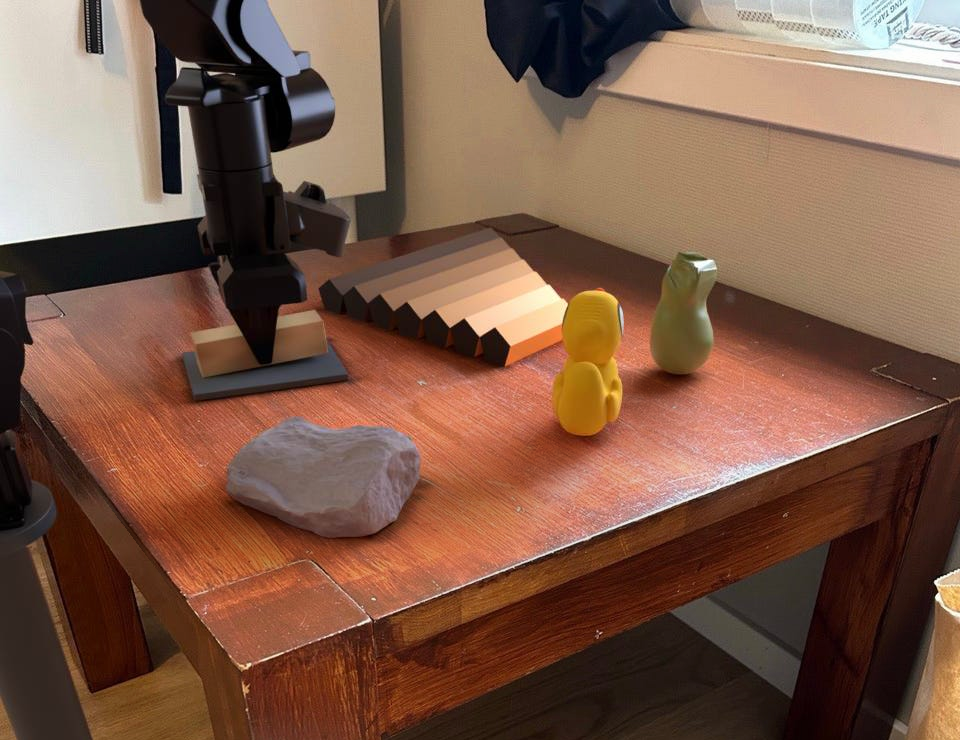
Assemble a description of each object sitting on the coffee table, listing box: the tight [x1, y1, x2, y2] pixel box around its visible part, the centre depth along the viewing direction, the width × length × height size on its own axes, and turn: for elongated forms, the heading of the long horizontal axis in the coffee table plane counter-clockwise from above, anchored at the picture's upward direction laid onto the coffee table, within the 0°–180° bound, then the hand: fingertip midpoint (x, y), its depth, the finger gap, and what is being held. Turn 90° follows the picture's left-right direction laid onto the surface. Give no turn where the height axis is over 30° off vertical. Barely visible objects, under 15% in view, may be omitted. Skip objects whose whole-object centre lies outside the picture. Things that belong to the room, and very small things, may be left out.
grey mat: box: [182, 338, 350, 402], centre depth 85 cm, size 13×10×1 cm
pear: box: [649, 251, 718, 375], centre depth 82 cm, size 6×5×10 cm
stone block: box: [225, 416, 422, 539], centre depth 66 cm, size 12×5×10 cm
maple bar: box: [189, 309, 328, 378], centre depth 84 cm, size 11×3×3 cm, turn 112°
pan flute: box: [318, 227, 569, 367], centre depth 99 cm, size 25×3×25 cm
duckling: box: [552, 287, 625, 437], centre depth 73 cm, size 11×5×10 cm, turn 169°
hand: (262, 356), depth 85 cm, fingers closed on maple bar, 3 cm apart
